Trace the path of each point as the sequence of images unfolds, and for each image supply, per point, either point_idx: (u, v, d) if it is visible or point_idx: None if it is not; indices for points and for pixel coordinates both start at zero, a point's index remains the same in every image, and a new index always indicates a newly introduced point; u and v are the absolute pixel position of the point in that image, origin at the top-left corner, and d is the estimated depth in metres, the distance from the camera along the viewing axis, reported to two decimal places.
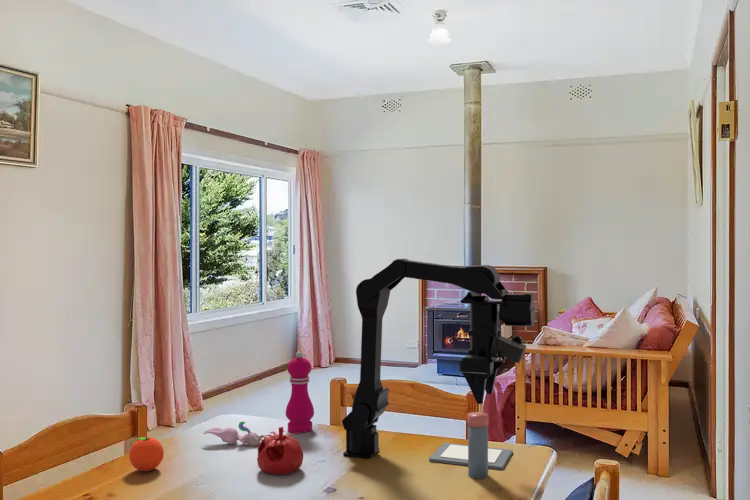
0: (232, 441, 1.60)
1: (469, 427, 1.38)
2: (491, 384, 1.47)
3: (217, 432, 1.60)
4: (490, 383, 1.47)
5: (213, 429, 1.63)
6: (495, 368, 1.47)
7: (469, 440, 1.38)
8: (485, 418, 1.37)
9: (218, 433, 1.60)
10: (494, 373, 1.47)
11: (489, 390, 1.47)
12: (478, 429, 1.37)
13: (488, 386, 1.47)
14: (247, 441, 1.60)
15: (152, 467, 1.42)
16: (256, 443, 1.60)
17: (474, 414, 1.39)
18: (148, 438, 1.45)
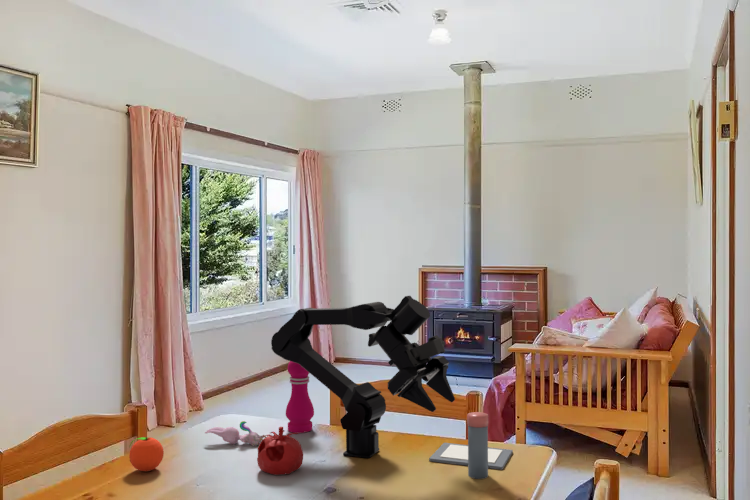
0: (233, 441, 1.60)
1: (469, 427, 1.38)
2: (448, 392, 1.47)
3: (218, 431, 1.61)
4: (447, 391, 1.47)
5: (214, 428, 1.63)
6: (441, 376, 1.48)
7: (469, 440, 1.38)
8: (485, 418, 1.37)
9: (219, 432, 1.60)
10: (444, 381, 1.48)
11: (451, 398, 1.47)
12: (478, 429, 1.37)
13: (448, 395, 1.47)
14: (248, 441, 1.61)
15: (152, 467, 1.42)
16: (257, 443, 1.60)
17: (473, 414, 1.39)
18: (148, 438, 1.45)
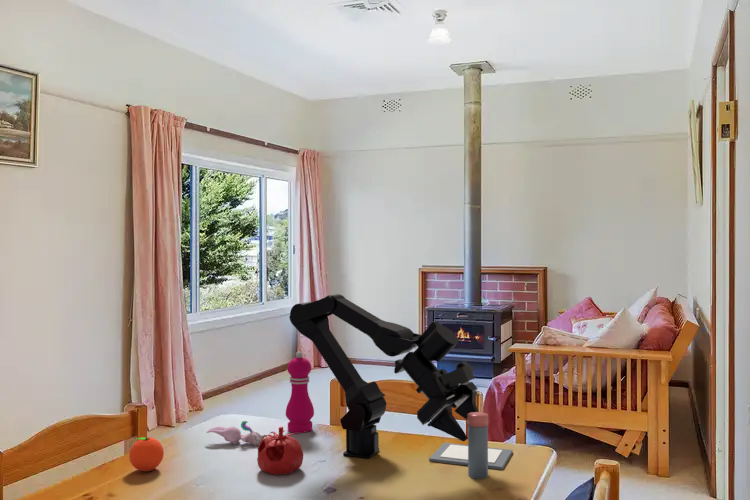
0: (234, 440, 1.60)
1: (469, 427, 1.38)
2: None
3: (220, 431, 1.61)
4: None
5: (216, 428, 1.63)
6: (470, 403, 1.45)
7: (469, 440, 1.38)
8: (485, 418, 1.37)
9: (220, 432, 1.61)
10: (473, 408, 1.45)
11: None
12: (478, 429, 1.37)
13: None
14: (249, 440, 1.61)
15: (152, 467, 1.42)
16: (258, 443, 1.60)
17: (473, 414, 1.39)
18: (148, 438, 1.45)
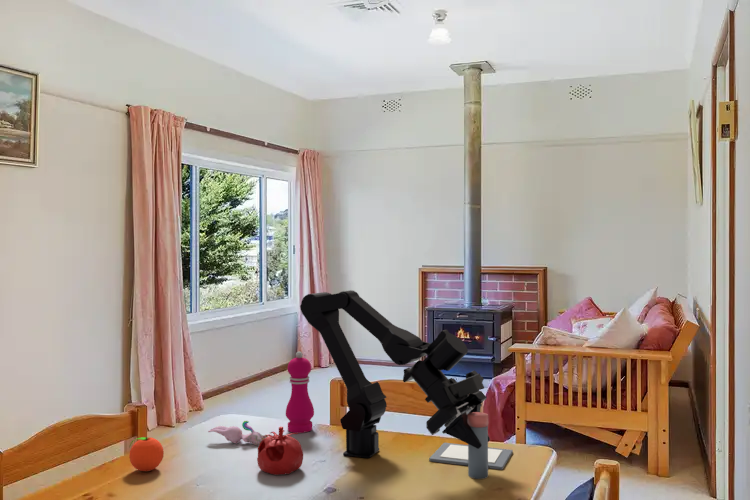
0: (235, 440, 1.60)
1: None
2: None
3: (221, 431, 1.61)
4: None
5: (218, 427, 1.64)
6: None
7: None
8: (485, 418, 1.37)
9: (222, 432, 1.61)
10: None
11: None
12: (478, 429, 1.37)
13: None
14: (250, 440, 1.61)
15: (152, 467, 1.42)
16: (259, 443, 1.60)
17: (474, 414, 1.39)
18: (148, 438, 1.45)
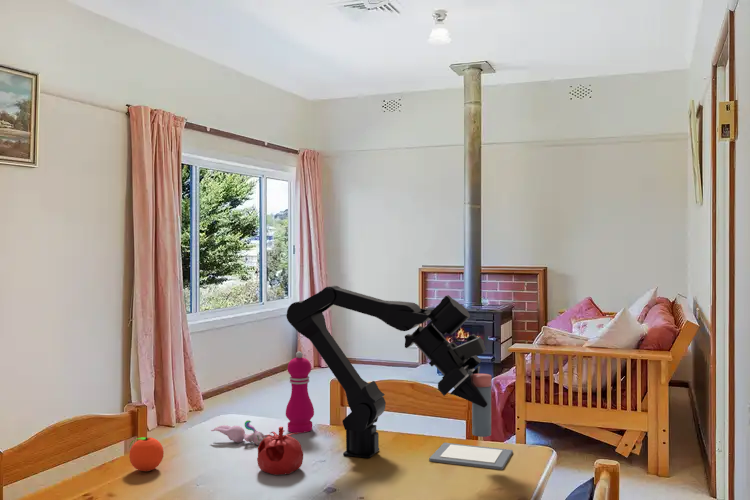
0: (237, 439, 1.61)
1: None
2: None
3: (223, 430, 1.62)
4: None
5: (221, 427, 1.65)
6: None
7: None
8: (490, 378, 1.43)
9: (224, 431, 1.62)
10: None
11: None
12: (484, 389, 1.42)
13: None
14: (252, 440, 1.61)
15: (152, 467, 1.42)
16: (260, 442, 1.60)
17: (477, 375, 1.45)
18: (148, 438, 1.45)
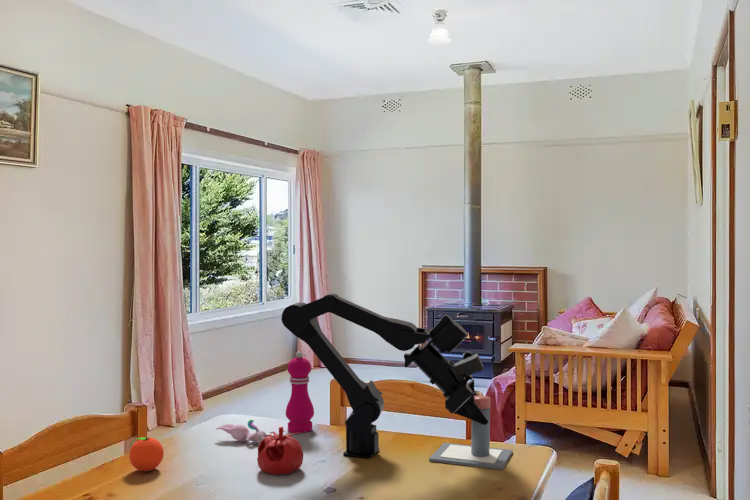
0: (240, 438, 1.62)
1: None
2: None
3: (227, 428, 1.63)
4: None
5: (226, 425, 1.66)
6: (472, 390, 1.55)
7: (475, 422, 1.48)
8: (489, 400, 1.49)
9: (228, 429, 1.63)
10: (475, 395, 1.54)
11: None
12: (485, 410, 1.48)
13: None
14: (254, 439, 1.62)
15: (152, 467, 1.42)
16: None
17: (476, 397, 1.50)
18: (148, 438, 1.45)
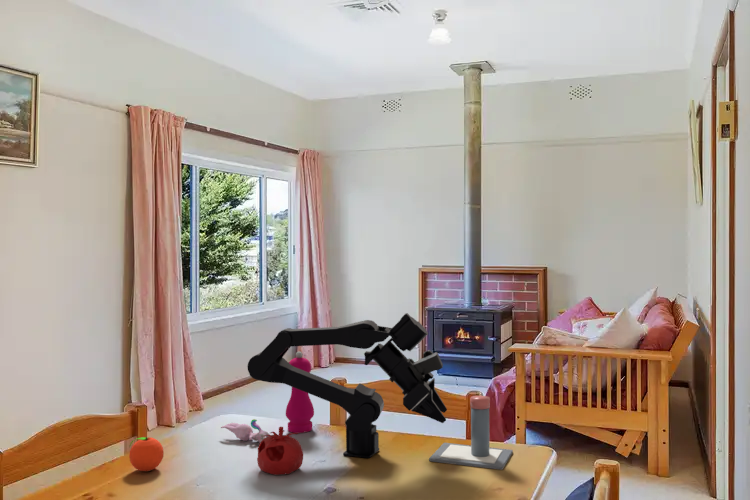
0: (243, 438, 1.62)
1: (474, 410, 1.48)
2: (440, 403, 1.56)
3: (231, 427, 1.64)
4: (439, 403, 1.56)
5: (231, 424, 1.67)
6: (432, 389, 1.56)
7: (474, 422, 1.48)
8: (489, 400, 1.49)
9: (231, 428, 1.64)
10: (435, 393, 1.56)
11: (443, 408, 1.55)
12: (484, 410, 1.48)
13: (440, 406, 1.56)
14: (257, 439, 1.62)
15: (152, 467, 1.42)
16: None
17: (476, 397, 1.50)
18: (148, 438, 1.45)
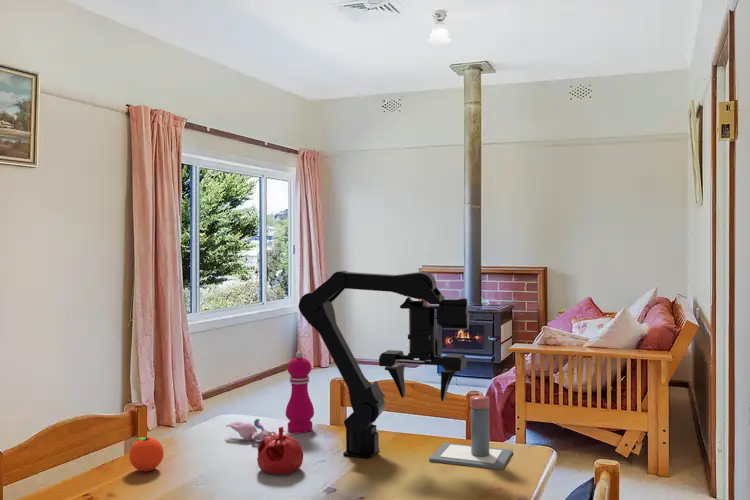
0: (246, 437, 1.63)
1: (474, 410, 1.48)
2: (404, 387, 1.53)
3: (235, 426, 1.65)
4: (403, 386, 1.52)
5: (235, 423, 1.68)
6: (403, 371, 1.53)
7: (474, 422, 1.49)
8: (488, 400, 1.49)
9: (235, 427, 1.65)
10: (403, 376, 1.53)
11: (404, 393, 1.52)
12: (484, 410, 1.48)
13: (403, 390, 1.52)
14: (259, 439, 1.62)
15: (152, 467, 1.42)
16: None
17: (475, 397, 1.50)
18: (148, 438, 1.45)
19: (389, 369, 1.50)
